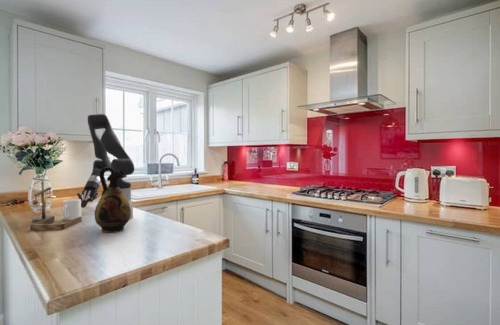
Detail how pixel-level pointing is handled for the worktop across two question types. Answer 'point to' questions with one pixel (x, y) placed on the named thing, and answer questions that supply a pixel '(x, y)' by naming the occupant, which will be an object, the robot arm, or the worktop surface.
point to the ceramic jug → (112, 203)
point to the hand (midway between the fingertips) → (82, 206)
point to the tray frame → (47, 226)
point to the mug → (71, 209)
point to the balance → (36, 203)
